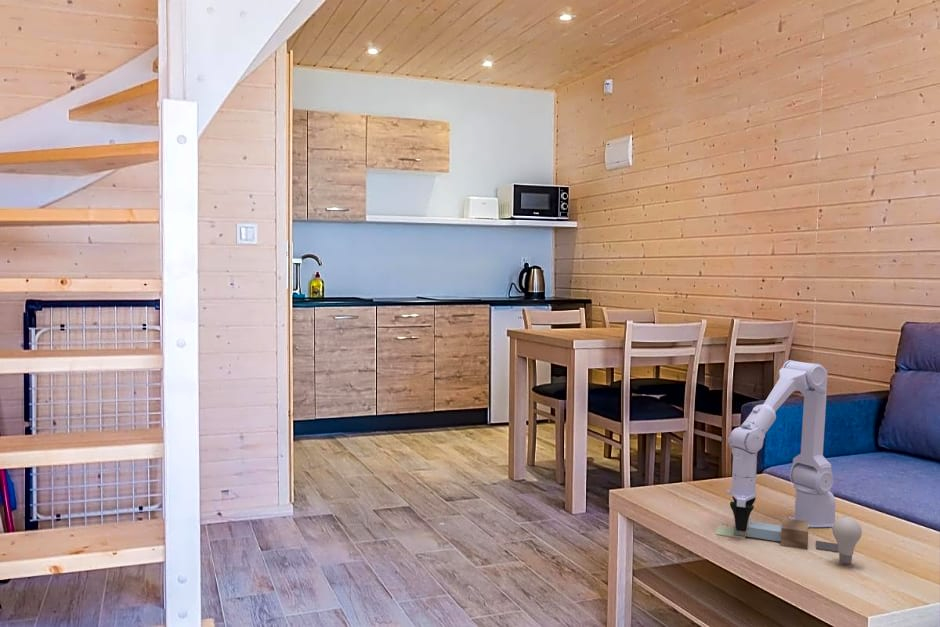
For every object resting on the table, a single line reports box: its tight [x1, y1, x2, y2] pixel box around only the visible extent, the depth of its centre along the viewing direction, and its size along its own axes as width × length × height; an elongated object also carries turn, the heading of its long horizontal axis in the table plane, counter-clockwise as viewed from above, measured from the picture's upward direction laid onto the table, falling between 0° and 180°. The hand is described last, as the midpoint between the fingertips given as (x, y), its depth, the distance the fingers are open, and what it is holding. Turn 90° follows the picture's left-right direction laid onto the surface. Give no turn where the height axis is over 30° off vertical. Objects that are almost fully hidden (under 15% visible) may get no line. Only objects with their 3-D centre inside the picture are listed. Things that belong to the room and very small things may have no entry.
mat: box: [714, 525, 746, 539], centre depth 197 cm, size 7×7×1 cm
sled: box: [733, 512, 782, 543], centre depth 193 cm, size 14×5×6 cm, turn 66°
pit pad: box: [815, 540, 839, 554], centre depth 187 cm, size 6×6×1 cm
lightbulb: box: [831, 516, 863, 566], centre depth 176 cm, size 6×6×11 cm
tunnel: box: [780, 517, 809, 551], centre depth 190 cm, size 6×9×4 cm
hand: (741, 527), depth 195 cm, fingers closed on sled, 5 cm apart
